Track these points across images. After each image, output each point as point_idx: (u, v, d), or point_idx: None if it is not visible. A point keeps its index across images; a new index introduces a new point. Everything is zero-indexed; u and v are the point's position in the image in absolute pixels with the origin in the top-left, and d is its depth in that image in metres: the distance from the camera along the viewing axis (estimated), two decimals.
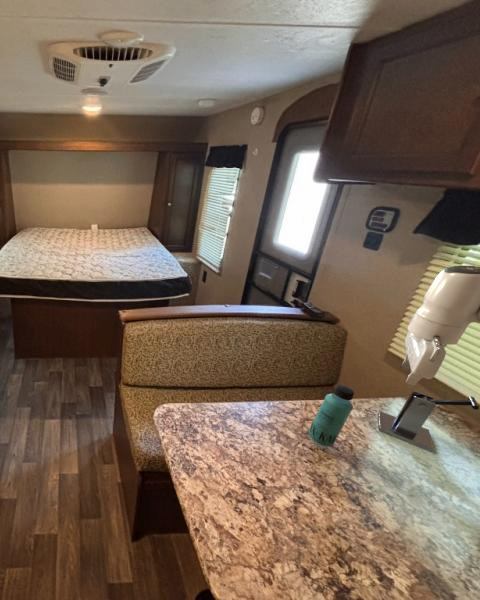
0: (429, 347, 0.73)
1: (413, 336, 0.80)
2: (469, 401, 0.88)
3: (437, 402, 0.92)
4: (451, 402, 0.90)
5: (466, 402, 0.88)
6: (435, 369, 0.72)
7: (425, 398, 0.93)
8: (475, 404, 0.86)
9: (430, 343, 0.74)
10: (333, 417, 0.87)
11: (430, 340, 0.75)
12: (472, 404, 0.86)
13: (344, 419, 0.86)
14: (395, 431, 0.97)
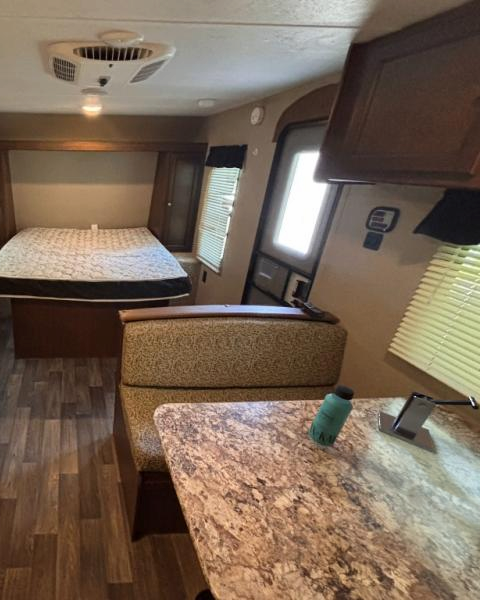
0: None
1: None
2: (469, 401, 0.88)
3: (437, 402, 0.92)
4: (451, 402, 0.90)
5: (466, 402, 0.88)
6: None
7: (425, 398, 0.93)
8: (475, 404, 0.86)
9: None
10: (333, 417, 0.87)
11: None
12: (472, 404, 0.86)
13: (344, 419, 0.86)
14: (395, 431, 0.97)
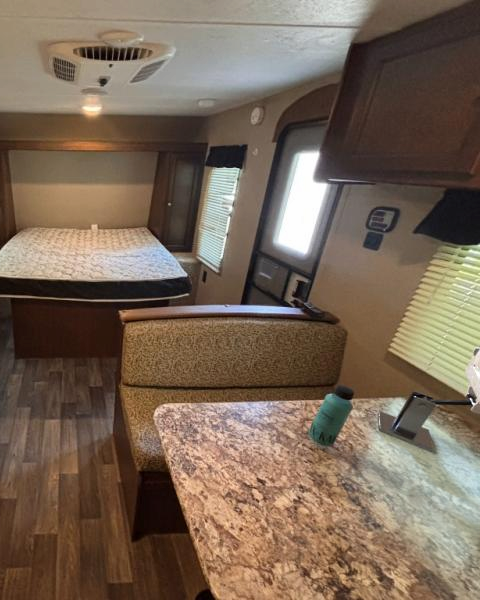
0: None
1: (479, 370, 0.84)
2: (469, 401, 0.88)
3: (437, 402, 0.92)
4: (451, 402, 0.90)
5: (466, 402, 0.88)
6: None
7: (425, 398, 0.93)
8: None
9: None
10: (333, 417, 0.87)
11: None
12: None
13: (344, 419, 0.86)
14: (395, 431, 0.97)
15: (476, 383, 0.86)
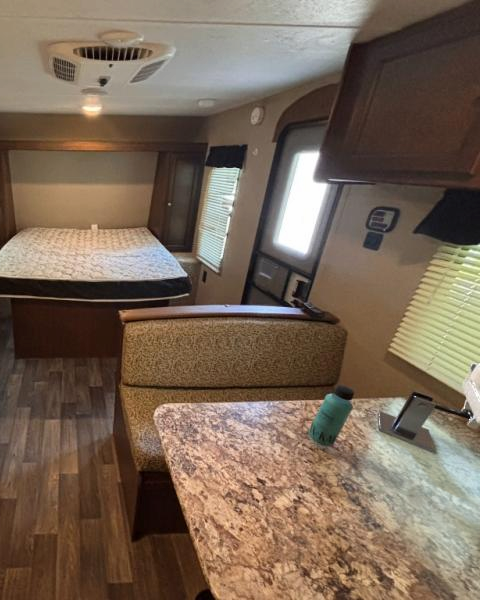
0: None
1: (476, 386, 0.85)
2: (469, 415, 0.88)
3: (437, 407, 0.92)
4: (451, 411, 0.90)
5: (465, 415, 0.89)
6: None
7: (428, 400, 0.93)
8: None
9: None
10: (333, 417, 0.87)
11: None
12: (471, 418, 0.87)
13: (344, 419, 0.86)
14: (395, 431, 0.97)
15: (473, 399, 0.87)
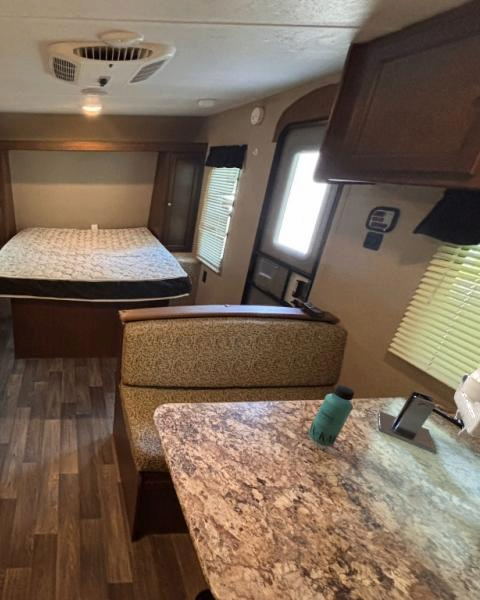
0: None
1: (467, 397, 0.87)
2: (460, 423, 0.90)
3: (435, 410, 0.92)
4: (446, 416, 0.91)
5: (458, 423, 0.90)
6: None
7: None
8: None
9: None
10: (333, 417, 0.87)
11: None
12: (463, 427, 0.89)
13: (344, 419, 0.86)
14: (395, 431, 0.97)
15: (464, 409, 0.88)
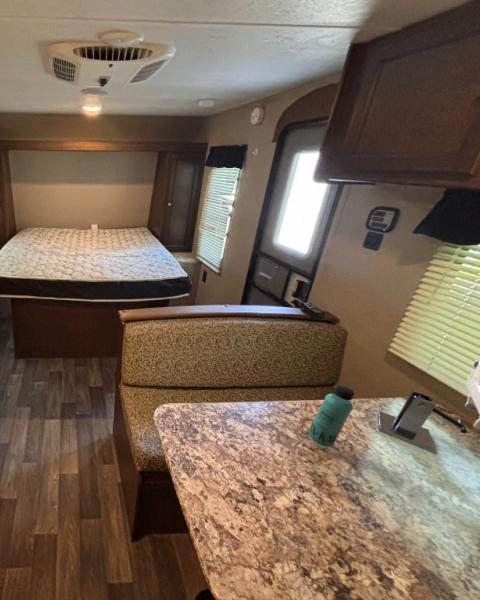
0: None
1: None
2: (460, 423, 0.90)
3: (435, 410, 0.92)
4: (446, 416, 0.91)
5: (458, 423, 0.90)
6: None
7: None
8: None
9: None
10: (333, 417, 0.87)
11: None
12: (463, 427, 0.89)
13: (344, 419, 0.86)
14: (395, 431, 0.97)
15: (477, 396, 0.86)
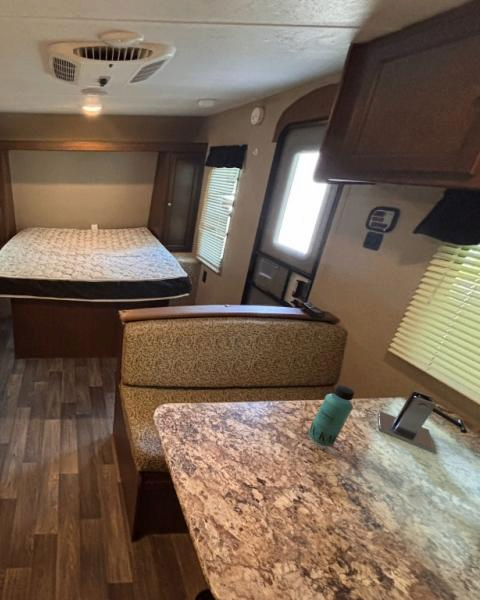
0: None
1: None
2: (460, 423, 0.90)
3: (435, 410, 0.92)
4: (446, 416, 0.91)
5: (458, 423, 0.90)
6: None
7: None
8: None
9: None
10: (333, 417, 0.87)
11: None
12: (463, 427, 0.89)
13: (344, 419, 0.86)
14: (395, 431, 0.97)
15: None
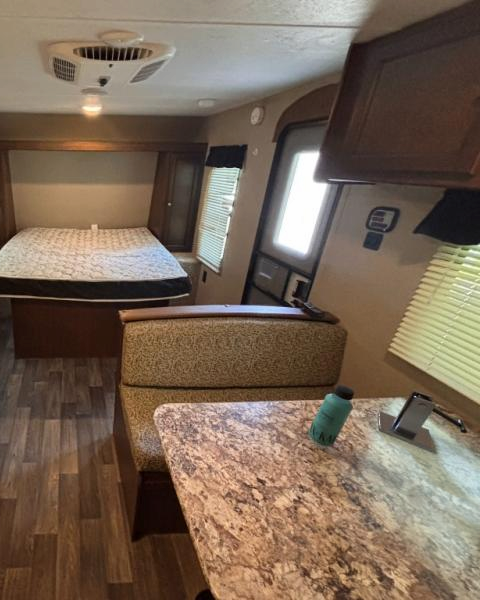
0: None
1: None
2: (460, 423, 0.90)
3: (435, 410, 0.92)
4: (446, 416, 0.91)
5: (458, 423, 0.90)
6: None
7: None
8: None
9: None
10: (333, 417, 0.87)
11: None
12: (463, 427, 0.89)
13: (344, 419, 0.86)
14: (395, 431, 0.97)
15: None
